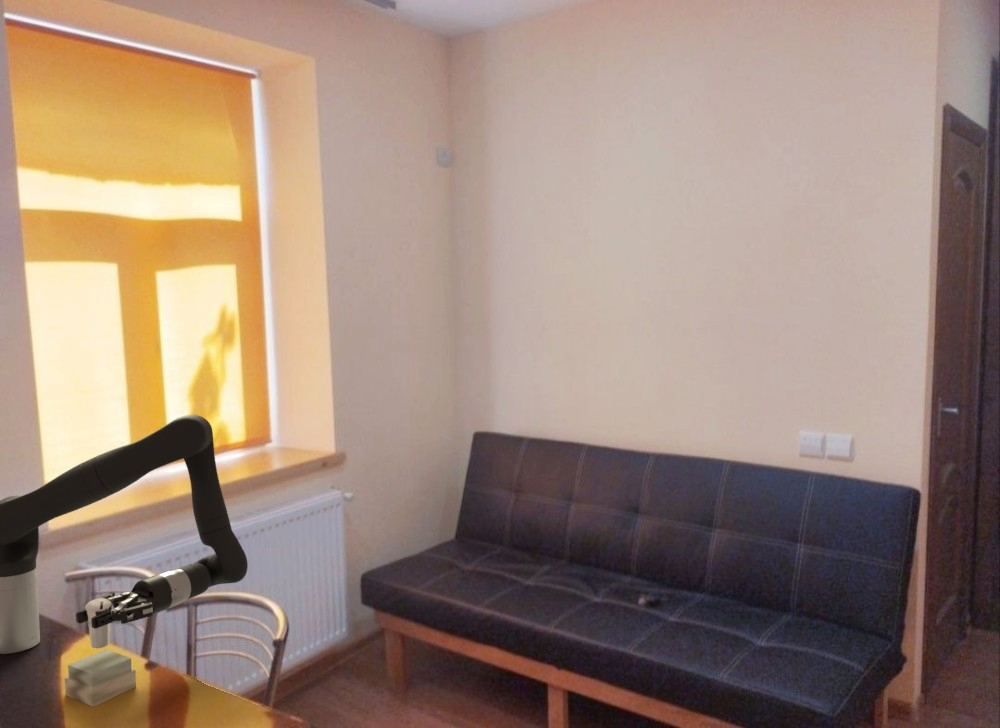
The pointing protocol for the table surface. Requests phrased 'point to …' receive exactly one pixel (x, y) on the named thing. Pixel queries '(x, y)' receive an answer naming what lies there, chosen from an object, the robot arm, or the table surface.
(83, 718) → the table surface
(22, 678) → the table surface
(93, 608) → the milkshake
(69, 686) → the tower base
